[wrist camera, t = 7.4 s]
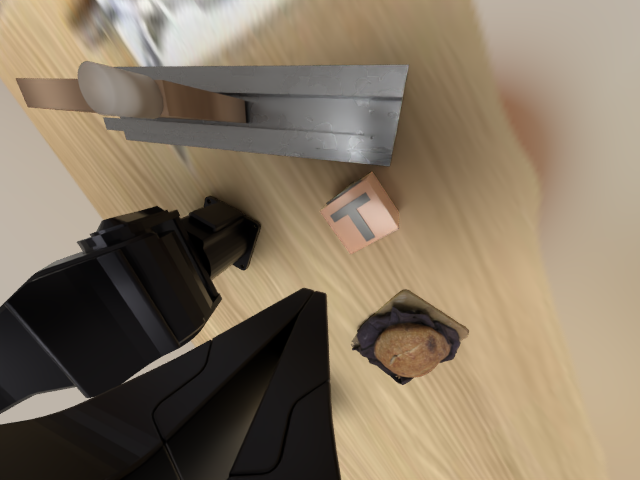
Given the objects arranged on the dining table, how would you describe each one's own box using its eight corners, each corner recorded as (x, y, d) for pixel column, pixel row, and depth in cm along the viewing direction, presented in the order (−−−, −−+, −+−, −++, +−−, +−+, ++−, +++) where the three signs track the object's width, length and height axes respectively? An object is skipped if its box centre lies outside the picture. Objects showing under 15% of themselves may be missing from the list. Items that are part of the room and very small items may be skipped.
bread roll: (401, 280, 22) (401, 304, 18) (476, 331, 21) (490, 365, 18) (343, 338, 27) (335, 365, 24) (402, 379, 26) (403, 412, 23)
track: (408, 69, 15) (409, 57, 13) (390, 164, 17) (388, 168, 15) (118, 69, 21) (86, 62, 19) (136, 139, 24) (110, 139, 22)
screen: (244, 96, 17) (107, 60, 9) (246, 125, 18) (122, 116, 10) (128, 93, 20) (-52, 63, 12) (135, 118, 21) (-30, 106, 13)
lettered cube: (398, 212, 19) (399, 229, 15) (358, 234, 21) (350, 255, 17) (371, 169, 18) (364, 177, 14) (332, 197, 20) (317, 209, 16)
